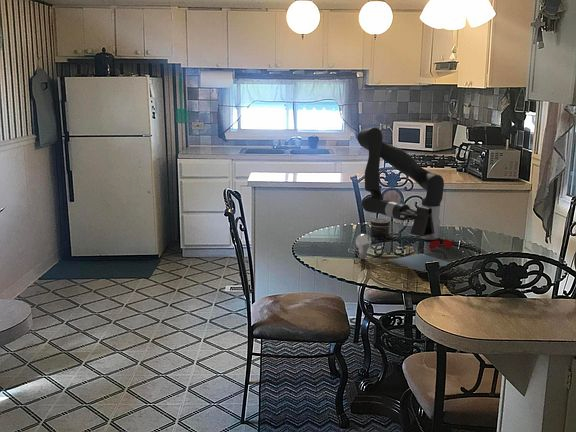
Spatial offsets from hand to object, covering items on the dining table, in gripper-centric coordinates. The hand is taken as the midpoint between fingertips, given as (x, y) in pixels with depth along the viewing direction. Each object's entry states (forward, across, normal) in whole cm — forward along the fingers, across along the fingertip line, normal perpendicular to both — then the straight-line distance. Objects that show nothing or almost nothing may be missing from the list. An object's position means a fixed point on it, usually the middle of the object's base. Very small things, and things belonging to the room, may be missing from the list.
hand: (426, 218), depth 258 cm
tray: (-1, 0, +21) cm, 21 cm away
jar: (-47, +19, +21) cm, 55 cm away
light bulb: (-19, -18, +21) cm, 34 cm away
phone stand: (-2, 0, +7) cm, 7 cm away
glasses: (-5, +24, +21) cm, 32 cm away
